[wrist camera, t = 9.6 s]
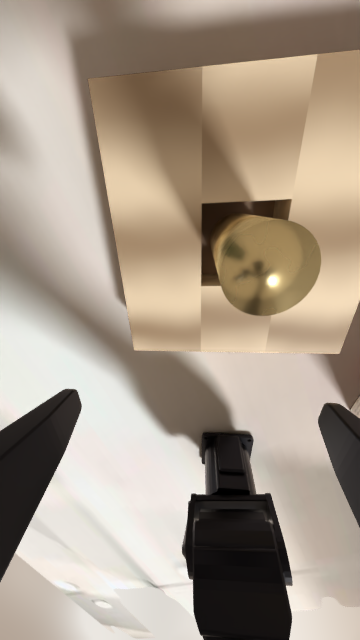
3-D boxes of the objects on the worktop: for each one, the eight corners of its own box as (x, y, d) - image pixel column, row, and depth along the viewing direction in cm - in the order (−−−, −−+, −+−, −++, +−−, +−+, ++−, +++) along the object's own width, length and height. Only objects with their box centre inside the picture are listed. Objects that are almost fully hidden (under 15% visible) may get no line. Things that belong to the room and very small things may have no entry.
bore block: (314, 327, 20) (339, 353, 16) (145, 326, 21) (134, 350, 18) (384, 87, 12) (458, 38, 9) (116, 111, 14) (87, 78, 10)
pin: (256, 263, 17) (307, 316, 9) (209, 264, 17) (217, 315, 9) (262, 211, 15) (334, 217, 7) (210, 214, 15) (222, 221, 7)
